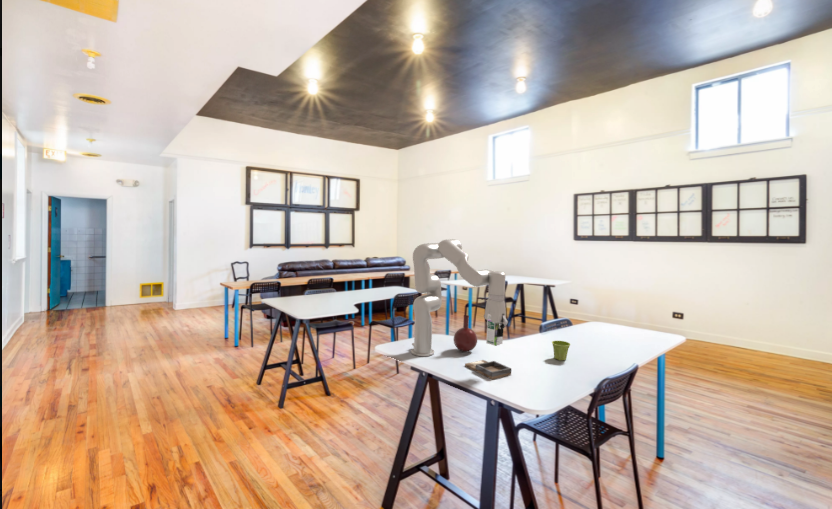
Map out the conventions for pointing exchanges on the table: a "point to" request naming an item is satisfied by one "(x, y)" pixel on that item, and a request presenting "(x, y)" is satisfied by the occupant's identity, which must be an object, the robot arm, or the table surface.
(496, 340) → the syrup box
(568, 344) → the plant pot
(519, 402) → the table surface
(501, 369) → the brown compartment tray
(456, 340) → the round-bottom flask
